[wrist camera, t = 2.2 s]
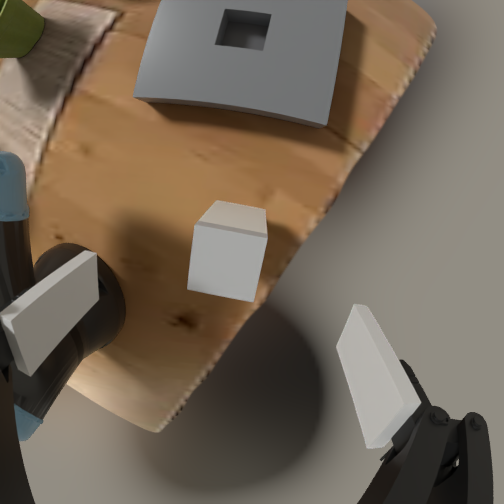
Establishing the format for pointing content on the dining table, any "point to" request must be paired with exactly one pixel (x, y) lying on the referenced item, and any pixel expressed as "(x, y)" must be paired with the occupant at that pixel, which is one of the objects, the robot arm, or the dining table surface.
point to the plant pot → (18, 28)
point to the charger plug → (228, 251)
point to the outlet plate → (245, 56)
